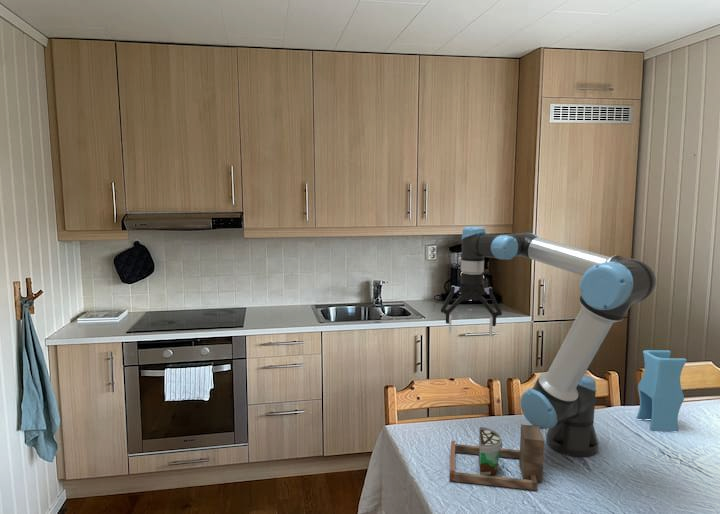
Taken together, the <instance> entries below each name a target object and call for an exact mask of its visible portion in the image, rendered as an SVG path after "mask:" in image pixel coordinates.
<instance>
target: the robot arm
mask: <svg viewBox="0 0 720 514" xmlns="http://www.w3.org/2000/svg"><path fill="white" fill-rule="evenodd" d="M460 240H461V258H460V260H461V261H460V272H461V273H460V285H459V286H455V285H454V284H453V285H451V287H450V292H449V294H448V296H447V297H446V299H445V301H444V302H443V304H442V306H441V308H440V313H443V314H445V324H447V325H448V334H449V335H451V334H452V318H453V316H452V315H453V314H452V311H454V310H455V309H456V307H458V305H460V304H461V302H462V301H464V299H465V300H466V301H471V300H472V301H478V300H479V301H480V302H481V303H482V305H483V306H484V307H485V309H486V310H487V311H488V312H489V314H490V315H489V330H488V331H489V333H488V334H489V337H493V327H496V325H497V317H499V316H502V314H503V313H502V310H501V309H500V306H499V304H498V302H497V299H496V298H495V295H494V291H493V290H494V289H493V287H492V286H489V287H484V275H485V274H484V271H485V258H491V259H498V260H512V259H513V258H514V257H523V258H526V259H530V260H533V261H535V262H539V263H542V264H544V265H548V266H552V267H555V268H557V269H561V270H564V271H567V272H569V273H573V274H576V275H579V276H581V279H580V281H579V290H580V296H579V298H578V302H579V305H580V306H581V307H580V310H579V312H578V314H577V316H576V317H575V320H574V321H573V323H572V325H571V327H570V329H569V330H568V332H567V334H566V336H565V338H564V340H563V342H562V344H561V346H560V348H559V349H558V351H557V353H556V355H555V357H554V359H553V361H552V363H551V365H550V367H549V369H548V371H546V372H542V373H541V374H540V375H539V376H538V377H537V380H536V382H535V383H534V385H533V387H531V388H528V389H527V390H526V391H524V392H522V395H521V396H520V397H521V398H520V409H521V410H522V414H523V416H524V417H525V419H526V421H527V422H528V423H529V424H530V425H534V426H539V427H540V430H547V431H546V435H545V436H546V437H545V438H546V439H545V442H546V445H548V446H549V448H551V449H552V450H554V451H555V452H558V453H560V454H564V455H566V456H570V457H571V456H572V457H577V458H586V457H592V456H594V455H596V454H598V452H599V440H598V436H597V434H596V429H595V426H594V424H595V423H594V420H595V408H596V406H595V405H596V395H597V394H596V392H597V389H596V386H597V383H596V380H595V379H594V378H593V377H592V376H590V375H587V374H586V371H587V370H588V368H589V366H590V365H591V363H592V362H593V360H594V357H595V356H596V354H597V353H598V351H599V349H600V347H601V345H602V343H603V341H604V340H605V338H606V336H607V334H608V333H609V331H610V329H611V327H612V326H613V324H614V323H616V322H618V323H619V322H621V321H623V320H624V318H625V317H626V315H627V313H628V311H629V309H630V308H631V306H632V305H633V304H635V303H636V304H637V303H640V302H643V301H644V300H647V299H648V298H649V297H651V295H652V294H653V292H654V291H655V289H656V285H657V278H656V274H655V272H654V270H653V269H652V267H650V265H649V264H647V263H646V262H644V261H641V260H640V259H634V258H630V257H626V256H622V255H618V254H614V255H611V256H607V255H605V254H604V255H603V254H600V253H597V252H594V251H590V250H585V249H582V248H578V247H575V246H572V245H567V244H564V243H560V242H556V241H553V240H549V239H546V238H542V237H539V236H538V235H537V234H536V233H533V232H532V233H531V232H521V233H519V232H518V233H506V234H502V233H501V234H494V233H493V234H490V233H486V228H485V227H483V226H464V227H463V228H462V233H461V239H460ZM457 292H460V295H459V296H458V298H457V299H456V300H455V301H454V302H453V303H452V304H451V305H450V306H449V307H448V305H449V304H450V302H451V301H452V299H453V296H454V294H456V293H457ZM484 293H486V295H489V297H490V300H491V302H492V304H493V306H494V309H495V310H494V309H493V307H491V305H490V304H489V303H488V302H487V300H485V297H483V296H482V295H484Z"/></svg>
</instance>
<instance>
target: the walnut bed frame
mask: <svg viewBox="0 0 720 514" xmlns="http://www.w3.org/2000/svg"><path fill="white" fill-rule="evenodd" d="M519 439H520V442H519V449H509V448H501V449H500V451H499V458H513V459H519V460H518V464H519V469H520V473H521V478H515V477H514V478H513V477H503V476H497V475H496V476H495V475H494V476H488V475H480V474H477V473H469V472H458V471H456V470H455V469H456V468H455V467H456V466H455V463H456V462H455V461H456V453H461V454H462V453H463V454H470V455H479V445H470V444H457V443H456V440H451V441H450V460H449V461H450V463H449V464H450V465H449V481H451V482H460V483H468V484H476V485H477V484H478V485H484V486H485V485H487V486H495V487H505V488H510V489H511V488H513V489H521V490H529V491H530V490H531V491H538V483H543V472H544V471H543V469H544V450H545V439H544V436H543V432H542V429H540V427H539V426H534V425H532V424H522V423H521V424H520V438H519Z"/></svg>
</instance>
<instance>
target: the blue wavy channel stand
mask: <svg viewBox="0 0 720 514" xmlns="http://www.w3.org/2000/svg"><path fill="white" fill-rule="evenodd" d="M642 353H643V359H644V371H643V375H642V377H641V379H640V381H639V382H638V385H637V391H638V395H639V408H638V411H637V415H636V417H635V419H636V418H637V419H651V420H650V424H649V425H650V426H649V431H650V430H651V431H678V432H679V424H678V422H679V421H678V420H679V419H678V418H679V412H680V409H681V407H682V405H683V402H684V400H685V395H684V392H683V388H682V385H681V376H682V372H683V368H684V367H685V364H686V362H687V358H682V357H681V358H676V357H675V358H674V357H672V358H670V357H671V353H672V352H671V350H670V349H669V350H668V349H667V350H661V349H660V350H659V349H658V350H657V349H656V350H652V349H647V350H644V349H643V351H642ZM651 431H650V432H651Z"/></svg>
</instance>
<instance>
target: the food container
mask: <svg viewBox="0 0 720 514" xmlns="http://www.w3.org/2000/svg"><path fill="white" fill-rule="evenodd" d="M478 437H479V439H478V446H479V454H478V471H479V475H488V476H495V475H496V474H497V472H498V467H499V459H500V457H499V451H500V449H503V440H502V437H501V435H500V434H499V432H497V431H496V430H494V429H493V428H492V429H491V428H489V427H484V426H479V436H478Z"/></svg>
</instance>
